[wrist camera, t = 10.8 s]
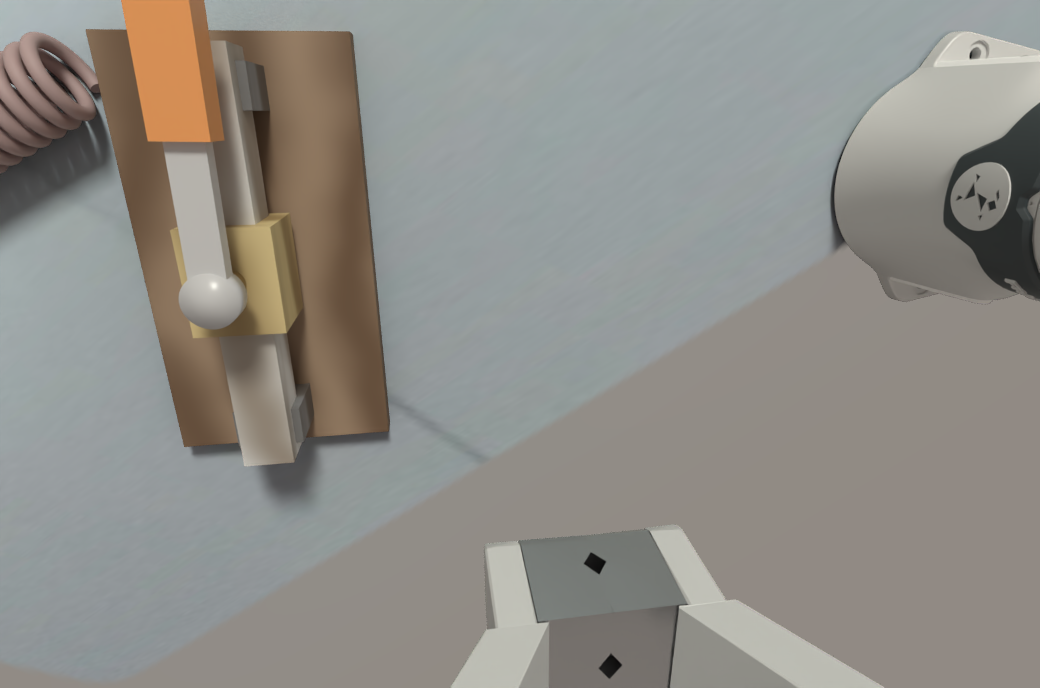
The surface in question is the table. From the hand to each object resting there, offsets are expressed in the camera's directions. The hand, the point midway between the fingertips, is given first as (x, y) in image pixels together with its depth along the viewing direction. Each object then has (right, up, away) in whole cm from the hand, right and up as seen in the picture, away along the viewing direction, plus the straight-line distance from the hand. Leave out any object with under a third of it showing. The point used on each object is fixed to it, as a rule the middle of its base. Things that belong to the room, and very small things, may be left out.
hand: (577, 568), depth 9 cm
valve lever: (-16, +12, +20) cm, 28 cm away
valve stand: (-18, +9, +31) cm, 37 cm away
